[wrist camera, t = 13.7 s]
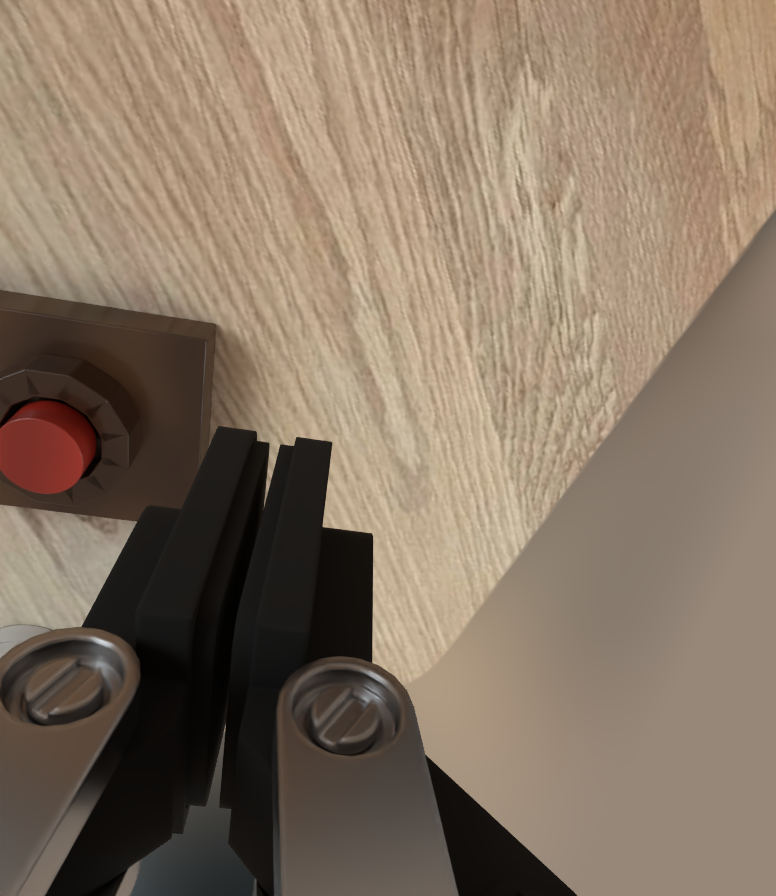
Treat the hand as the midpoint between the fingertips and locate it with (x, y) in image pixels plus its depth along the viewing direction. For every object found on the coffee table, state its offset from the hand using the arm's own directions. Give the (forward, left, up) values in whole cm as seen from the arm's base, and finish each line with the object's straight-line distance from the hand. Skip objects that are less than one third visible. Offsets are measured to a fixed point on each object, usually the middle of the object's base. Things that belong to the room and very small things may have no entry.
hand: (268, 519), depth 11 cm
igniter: (+6, +13, -22) cm, 26 cm away
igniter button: (+6, +13, -18) cm, 23 cm away
